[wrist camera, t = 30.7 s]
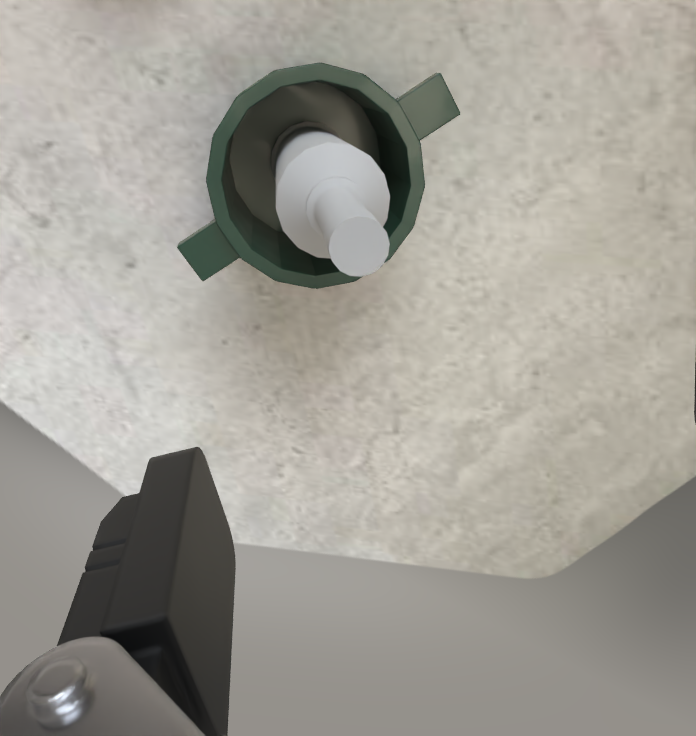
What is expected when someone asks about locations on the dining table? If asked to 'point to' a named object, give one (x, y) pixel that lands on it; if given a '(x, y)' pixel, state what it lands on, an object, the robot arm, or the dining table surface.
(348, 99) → the pot
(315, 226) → the bottle
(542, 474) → the dining table surface
